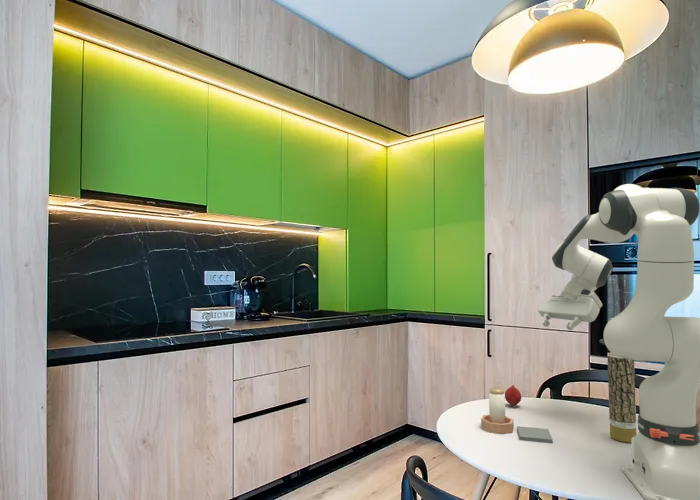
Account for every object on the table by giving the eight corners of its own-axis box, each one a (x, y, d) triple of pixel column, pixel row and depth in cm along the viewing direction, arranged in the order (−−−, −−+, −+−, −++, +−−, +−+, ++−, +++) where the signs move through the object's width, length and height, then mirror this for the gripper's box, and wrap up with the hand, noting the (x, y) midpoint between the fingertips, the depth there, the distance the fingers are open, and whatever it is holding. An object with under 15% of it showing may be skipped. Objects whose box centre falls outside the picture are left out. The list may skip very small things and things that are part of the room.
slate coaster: (552, 443, 127) (552, 439, 127) (519, 439, 130) (519, 436, 130) (548, 432, 136) (547, 428, 136) (517, 429, 138) (517, 426, 138)
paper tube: (641, 444, 126) (638, 357, 127) (615, 442, 127) (612, 356, 129) (631, 435, 133) (628, 352, 134) (606, 434, 134) (603, 352, 135)
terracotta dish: (511, 435, 133) (511, 426, 133) (479, 430, 137) (479, 421, 137) (514, 425, 142) (514, 417, 142) (484, 421, 146) (484, 412, 146)
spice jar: (504, 428, 136) (503, 392, 137) (488, 425, 138) (487, 390, 139) (506, 423, 140) (505, 388, 141) (490, 421, 143) (490, 386, 143)
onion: (501, 405, 163) (501, 383, 164) (512, 403, 166) (512, 382, 166) (513, 409, 158) (512, 387, 158) (524, 407, 160) (524, 385, 161)
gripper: (545, 289, 160) (526, 317, 155) (598, 291, 142) (579, 323, 137) (553, 301, 162) (535, 329, 157) (607, 305, 144) (589, 337, 139)
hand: (556, 326), depth 147 cm, fingers open, 8 cm apart
